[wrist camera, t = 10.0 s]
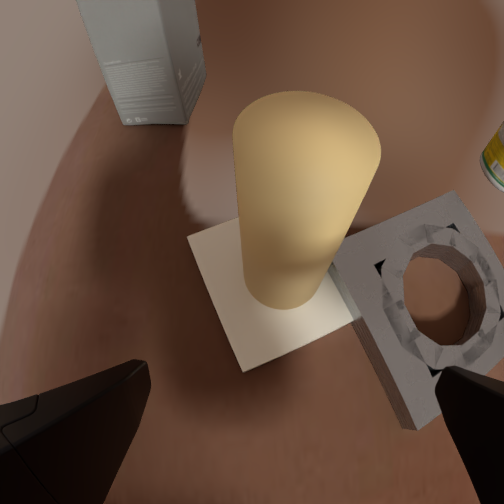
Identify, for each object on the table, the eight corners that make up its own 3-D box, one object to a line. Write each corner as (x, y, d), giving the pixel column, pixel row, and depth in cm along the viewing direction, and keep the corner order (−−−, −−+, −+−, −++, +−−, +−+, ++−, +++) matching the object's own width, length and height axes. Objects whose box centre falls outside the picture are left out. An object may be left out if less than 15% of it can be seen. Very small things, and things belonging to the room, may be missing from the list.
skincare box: (189, 127, 25) (158, -53, 11) (114, 128, 26) (59, -26, 11) (209, 74, 29) (196, -69, 14) (145, 75, 29) (115, -54, 15)
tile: (243, 372, 17) (242, 372, 17) (188, 241, 21) (186, 236, 20) (377, 308, 19) (380, 305, 18) (310, 195, 22) (312, 190, 22)
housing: (402, 428, 15) (417, 430, 14) (317, 260, 20) (324, 246, 18) (514, 333, 18) (531, 326, 16) (442, 204, 22) (453, 189, 20)
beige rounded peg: (281, 325, 18) (315, 226, 8) (227, 269, 19) (201, 130, 9) (336, 274, 19) (406, 145, 9) (283, 224, 21) (302, 77, 11)
